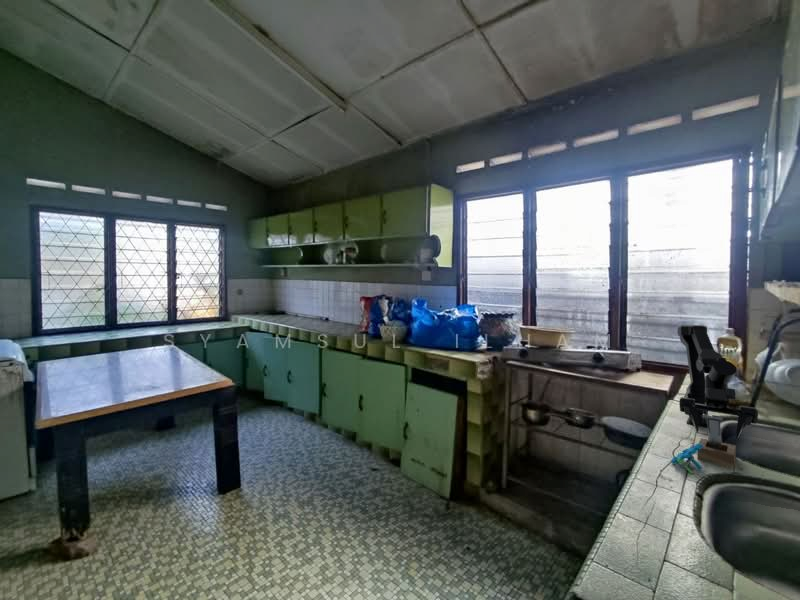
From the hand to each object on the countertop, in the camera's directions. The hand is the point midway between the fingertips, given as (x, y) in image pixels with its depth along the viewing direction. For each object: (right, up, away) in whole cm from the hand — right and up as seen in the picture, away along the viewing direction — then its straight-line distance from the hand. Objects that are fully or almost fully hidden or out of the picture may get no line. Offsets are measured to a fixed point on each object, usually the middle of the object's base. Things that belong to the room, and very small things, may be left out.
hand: (716, 434), depth 112 cm
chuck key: (+1, -8, +1) cm, 8 cm away
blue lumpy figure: (-12, -9, -3) cm, 15 cm away
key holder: (+1, -8, +1) cm, 8 cm away
